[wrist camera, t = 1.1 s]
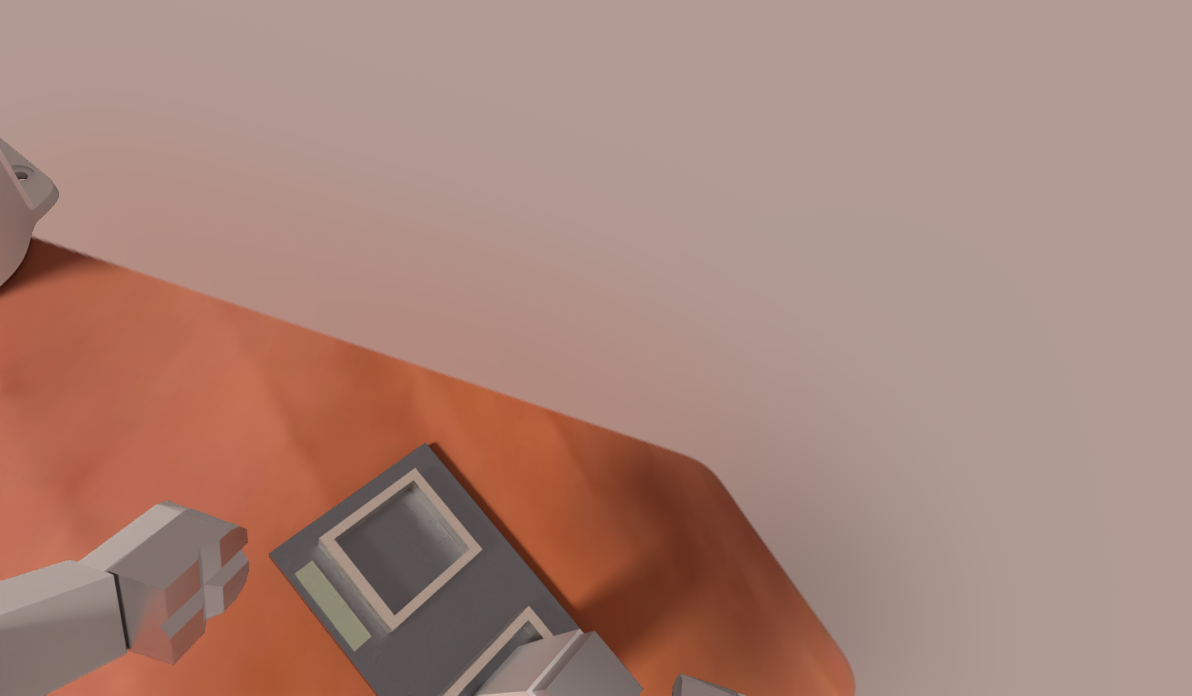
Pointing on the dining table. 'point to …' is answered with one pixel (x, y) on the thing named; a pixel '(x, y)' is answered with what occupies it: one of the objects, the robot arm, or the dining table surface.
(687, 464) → the dining table surface
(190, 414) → the dining table surface
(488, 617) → the panel
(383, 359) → the dining table surface
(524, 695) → the plug
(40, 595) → the robot arm
